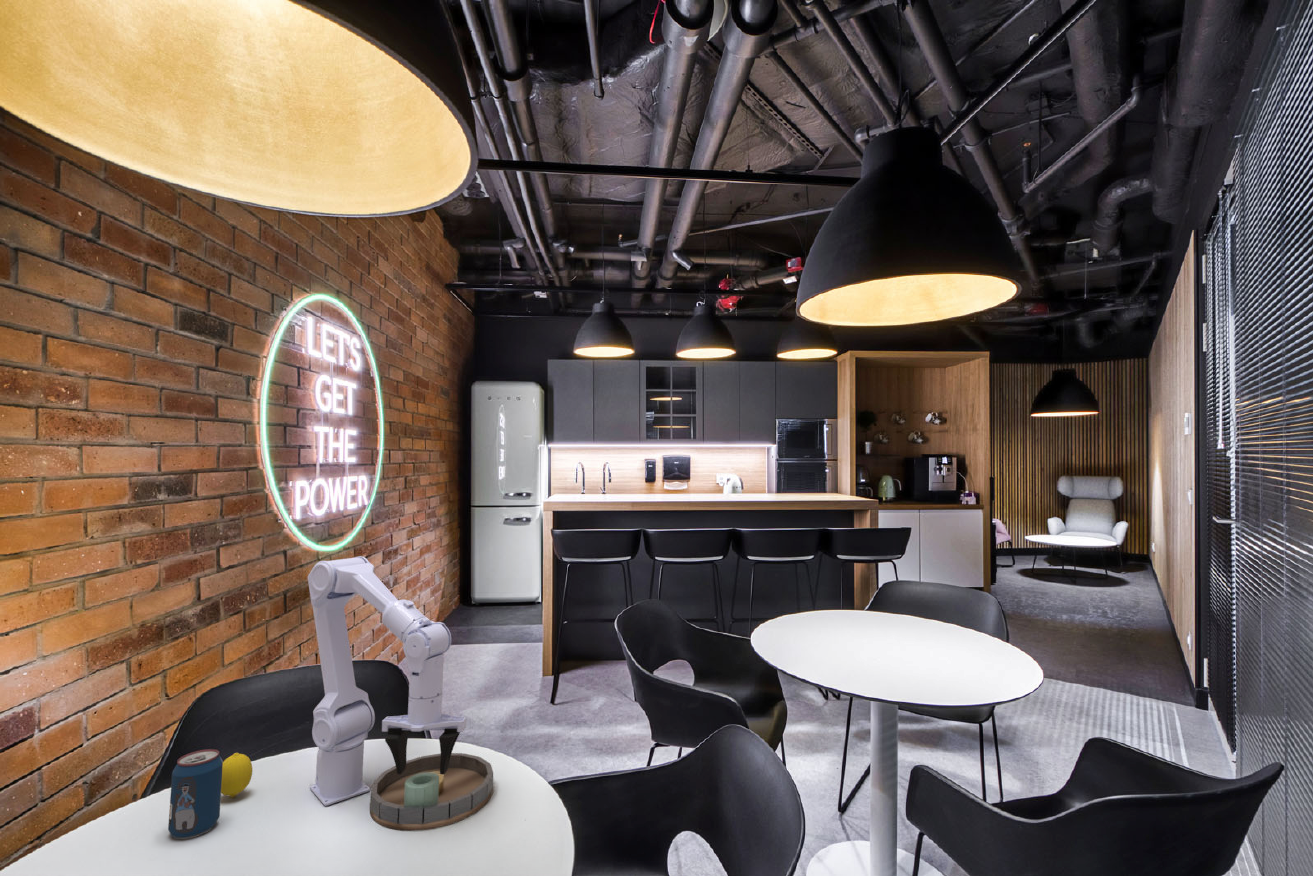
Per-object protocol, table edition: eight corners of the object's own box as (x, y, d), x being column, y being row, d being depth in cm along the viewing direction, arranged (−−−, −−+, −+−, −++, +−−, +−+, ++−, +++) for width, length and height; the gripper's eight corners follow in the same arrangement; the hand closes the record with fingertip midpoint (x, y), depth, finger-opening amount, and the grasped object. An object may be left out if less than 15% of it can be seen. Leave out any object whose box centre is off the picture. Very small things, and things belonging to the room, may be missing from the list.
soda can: (215, 814, 106) (219, 744, 107) (222, 830, 101) (227, 756, 102) (165, 829, 101) (170, 756, 102) (170, 847, 96) (175, 769, 98)
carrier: (351, 797, 112) (352, 775, 112) (459, 760, 127) (459, 741, 128) (398, 846, 97) (399, 820, 97) (514, 798, 112) (514, 775, 113)
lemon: (208, 801, 110) (211, 756, 111) (238, 787, 116) (241, 744, 116) (227, 807, 108) (230, 762, 109) (257, 793, 113) (260, 749, 114)
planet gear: (399, 809, 106) (400, 779, 107) (429, 797, 110) (430, 769, 111) (411, 821, 102) (412, 791, 103) (443, 809, 106) (444, 780, 107)
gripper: (375, 701, 104) (371, 782, 103) (458, 702, 104) (455, 783, 103) (392, 687, 111) (389, 763, 110) (470, 688, 111) (468, 764, 110)
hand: (422, 771), depth 107 cm, fingers open, 7 cm apart
